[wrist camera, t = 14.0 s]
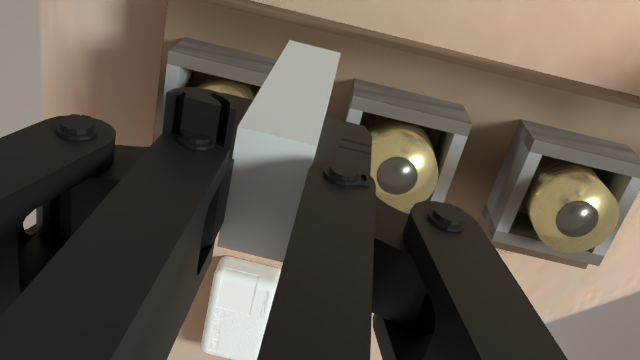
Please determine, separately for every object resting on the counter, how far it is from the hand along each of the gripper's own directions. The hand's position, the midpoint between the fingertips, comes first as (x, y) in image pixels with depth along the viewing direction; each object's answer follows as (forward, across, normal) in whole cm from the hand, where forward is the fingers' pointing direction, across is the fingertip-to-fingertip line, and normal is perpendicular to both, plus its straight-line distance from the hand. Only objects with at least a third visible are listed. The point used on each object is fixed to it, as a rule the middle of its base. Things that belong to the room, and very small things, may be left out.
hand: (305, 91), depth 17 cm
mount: (+24, +6, -9) cm, 26 cm away
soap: (+24, -2, -28) cm, 37 cm away
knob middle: (+20, +6, -9) cm, 22 cm away
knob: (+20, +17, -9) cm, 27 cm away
